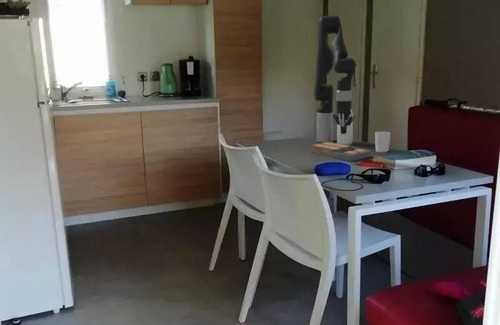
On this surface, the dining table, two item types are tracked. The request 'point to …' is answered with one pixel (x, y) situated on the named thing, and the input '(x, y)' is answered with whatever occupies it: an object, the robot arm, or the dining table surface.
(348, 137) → the alcohol
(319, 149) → the oak plate
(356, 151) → the tile
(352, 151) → the tile
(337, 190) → the dining table surface
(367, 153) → the box
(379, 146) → the white cup
